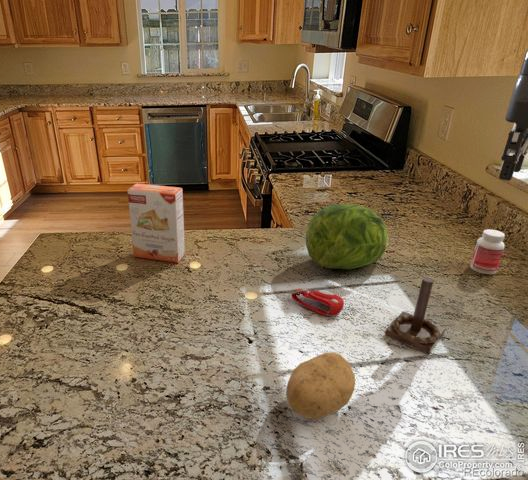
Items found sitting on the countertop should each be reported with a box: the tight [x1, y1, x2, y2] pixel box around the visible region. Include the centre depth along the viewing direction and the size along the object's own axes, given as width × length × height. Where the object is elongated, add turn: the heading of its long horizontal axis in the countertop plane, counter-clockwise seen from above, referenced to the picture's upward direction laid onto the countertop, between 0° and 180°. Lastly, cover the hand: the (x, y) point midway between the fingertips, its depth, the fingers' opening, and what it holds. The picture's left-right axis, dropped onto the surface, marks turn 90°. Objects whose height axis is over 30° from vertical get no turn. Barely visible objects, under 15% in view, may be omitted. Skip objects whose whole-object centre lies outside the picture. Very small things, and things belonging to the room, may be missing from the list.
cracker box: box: [127, 182, 186, 264], centre depth 119 cm, size 14×6×21 cm, turn 73°
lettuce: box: [305, 203, 389, 270], centre depth 115 cm, size 18×23×19 cm
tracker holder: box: [288, 288, 345, 316], centre depth 99 cm, size 12×4×10 cm
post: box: [384, 276, 446, 355], centre depth 87 cm, size 9×9×14 cm
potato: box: [285, 351, 356, 420], centre depth 71 cm, size 10×14×8 cm
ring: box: [392, 314, 440, 344], centre depth 88 cm, size 9×9×1 cm
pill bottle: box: [469, 228, 506, 275], centre depth 112 cm, size 6×6×11 cm
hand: (509, 175), depth 94 cm, fingers open, 8 cm apart
